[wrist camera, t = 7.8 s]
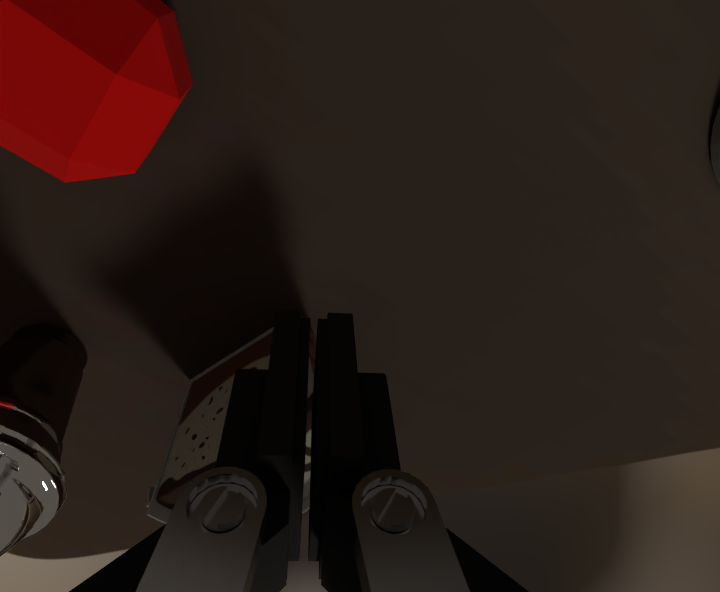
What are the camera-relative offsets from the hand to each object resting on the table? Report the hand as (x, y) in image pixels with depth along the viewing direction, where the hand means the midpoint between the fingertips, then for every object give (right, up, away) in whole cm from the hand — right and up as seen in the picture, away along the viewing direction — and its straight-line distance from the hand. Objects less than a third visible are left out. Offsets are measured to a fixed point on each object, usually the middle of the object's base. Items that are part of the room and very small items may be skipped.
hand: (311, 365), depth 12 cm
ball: (-11, +13, +13) cm, 22 cm away
